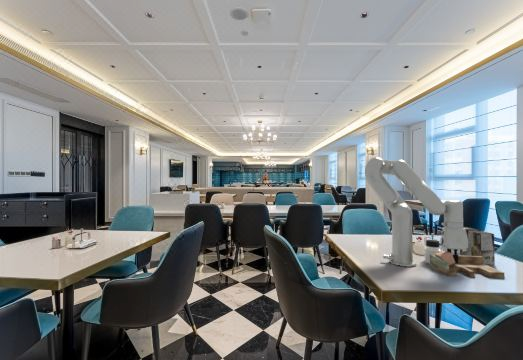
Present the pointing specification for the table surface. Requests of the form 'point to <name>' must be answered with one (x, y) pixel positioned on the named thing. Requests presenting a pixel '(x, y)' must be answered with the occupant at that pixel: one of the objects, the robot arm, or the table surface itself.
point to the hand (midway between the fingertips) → (454, 262)
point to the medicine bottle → (431, 249)
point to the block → (446, 257)
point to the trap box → (465, 267)
